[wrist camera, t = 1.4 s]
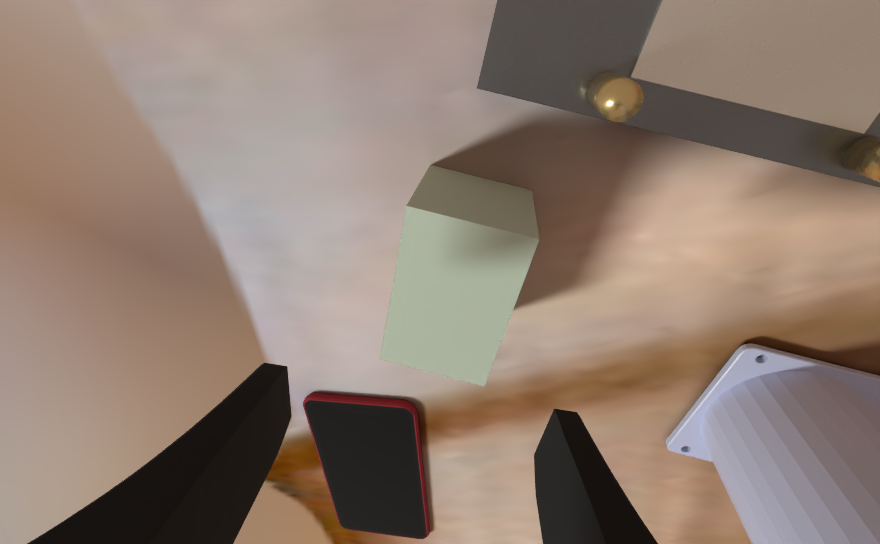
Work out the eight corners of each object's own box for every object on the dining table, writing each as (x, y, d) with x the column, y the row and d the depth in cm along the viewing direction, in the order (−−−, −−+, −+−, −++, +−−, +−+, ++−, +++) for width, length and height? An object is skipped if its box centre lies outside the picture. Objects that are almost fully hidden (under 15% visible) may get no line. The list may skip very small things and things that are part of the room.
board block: (531, 189, 18) (539, 239, 14) (488, 315, 21) (484, 386, 17) (430, 164, 18) (406, 205, 14) (404, 294, 21) (379, 359, 17)
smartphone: (339, 529, 33) (299, 397, 26) (343, 517, 34) (305, 386, 26) (429, 540, 32) (415, 406, 25) (431, 529, 33) (417, 395, 25)
